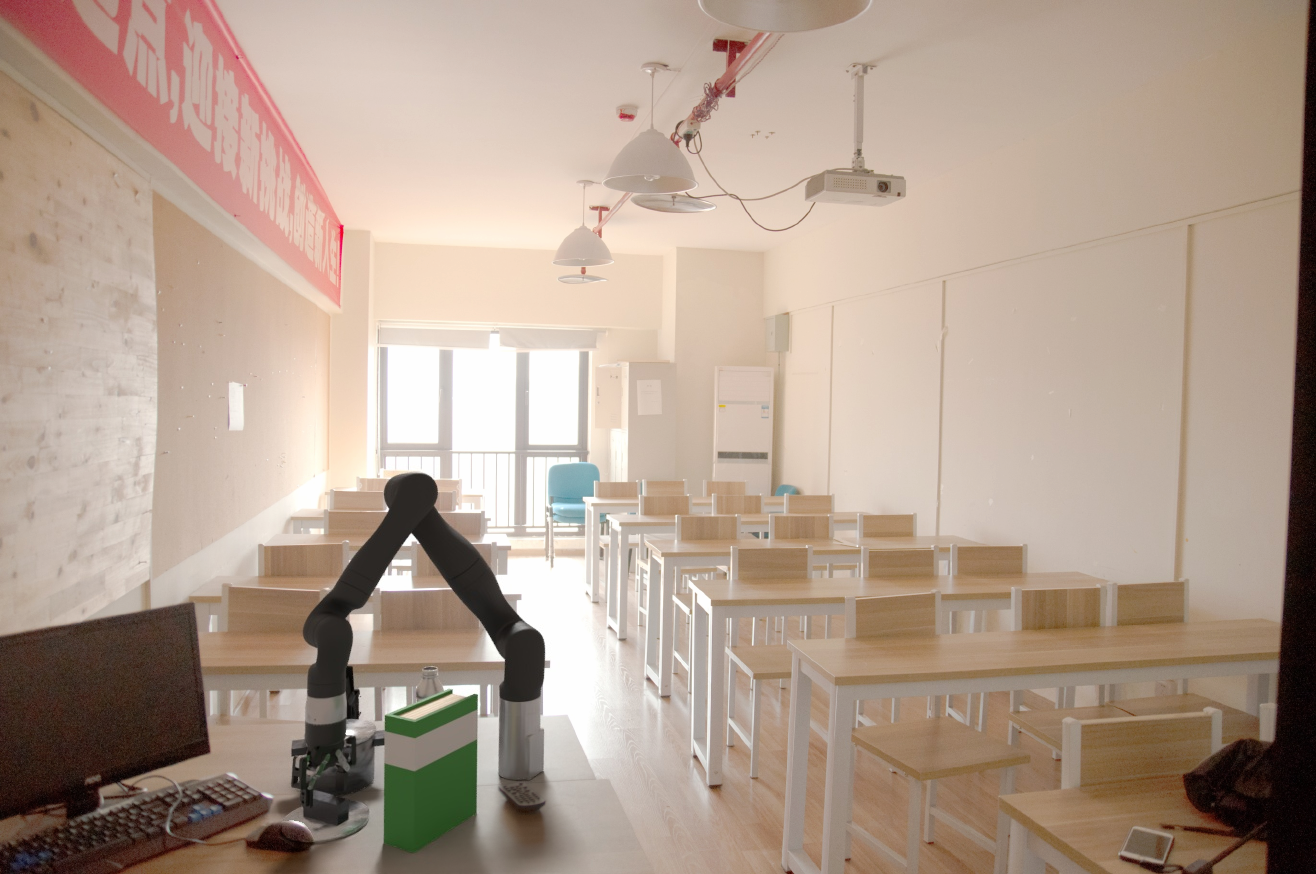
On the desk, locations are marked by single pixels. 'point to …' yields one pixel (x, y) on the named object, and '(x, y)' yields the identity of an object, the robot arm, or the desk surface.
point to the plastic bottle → (428, 684)
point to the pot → (365, 756)
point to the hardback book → (429, 769)
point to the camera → (352, 695)
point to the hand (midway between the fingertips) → (324, 798)
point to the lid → (331, 816)
